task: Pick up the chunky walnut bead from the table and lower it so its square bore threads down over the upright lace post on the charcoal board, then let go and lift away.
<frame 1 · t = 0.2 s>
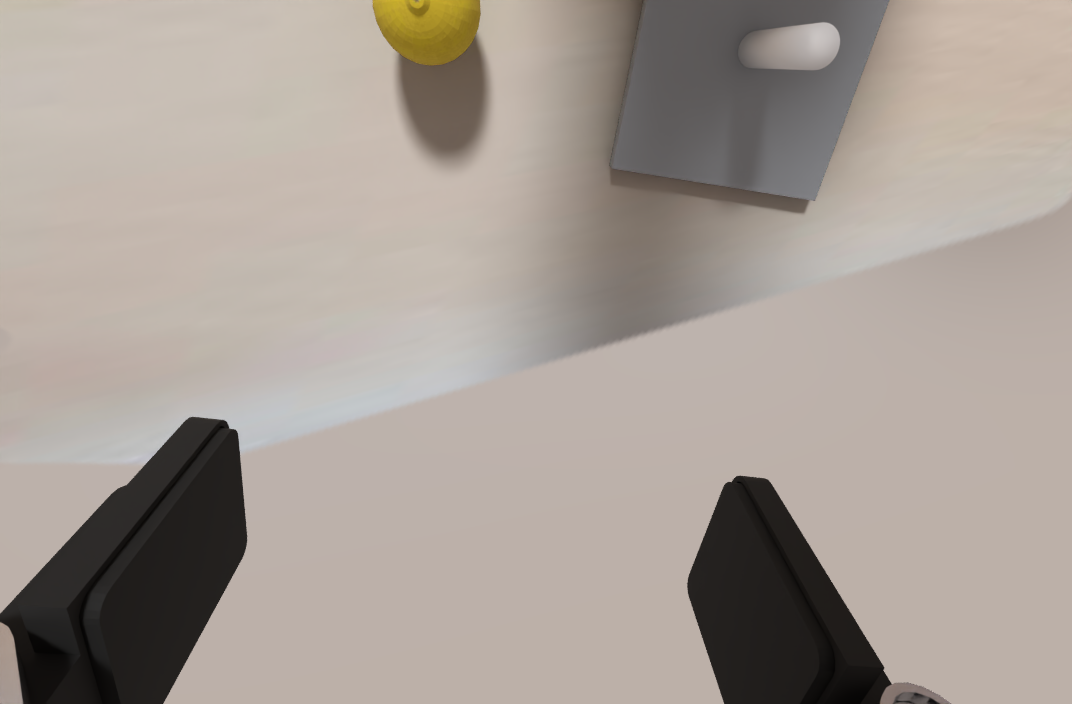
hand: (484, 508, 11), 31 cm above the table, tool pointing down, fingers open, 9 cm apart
lemon: (437, 12, 34), on the table
lace board: (747, 50, 35), on the table
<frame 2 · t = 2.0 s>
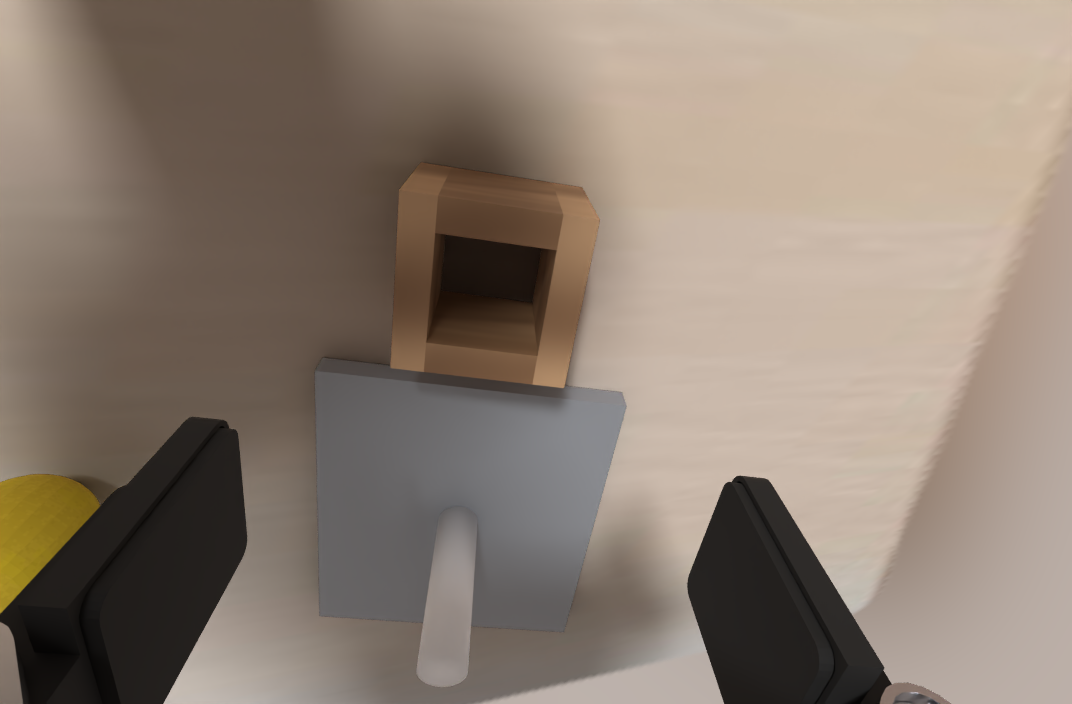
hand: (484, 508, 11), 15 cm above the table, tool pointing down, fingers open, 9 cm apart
lemon: (81, 482, 29), on the table
bead: (492, 252, 24), on the table
lace board: (459, 504, 30), on the table
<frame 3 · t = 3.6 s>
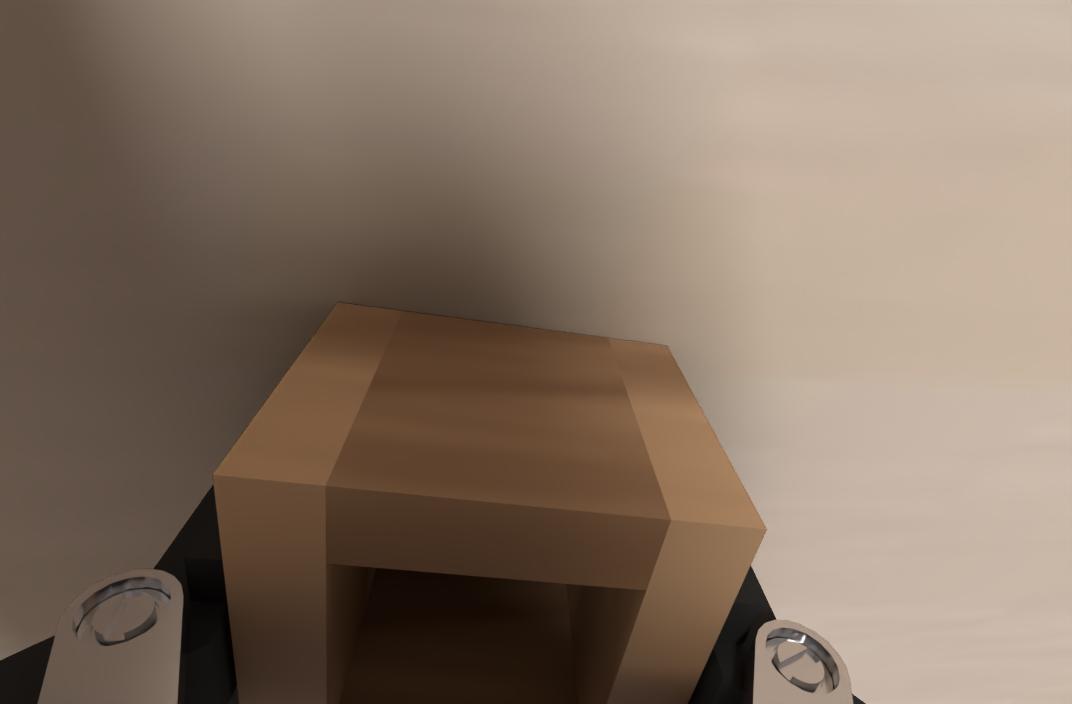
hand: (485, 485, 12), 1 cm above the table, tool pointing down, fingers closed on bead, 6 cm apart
bead: (487, 457, 12), on the table, touching gripper
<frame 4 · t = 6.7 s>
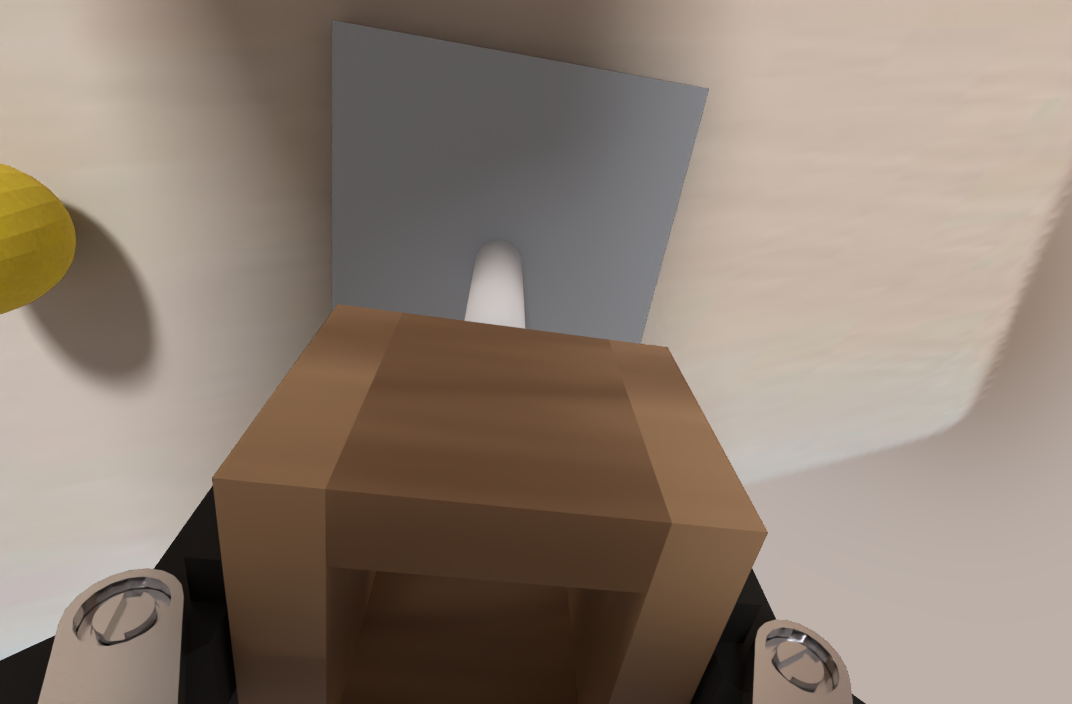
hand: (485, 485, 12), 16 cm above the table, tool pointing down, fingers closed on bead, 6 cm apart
lemon: (51, 211, 24), on the table
bead: (487, 459, 12), point 15 cm above the table, touching gripper
lace board: (499, 254, 26), on the table
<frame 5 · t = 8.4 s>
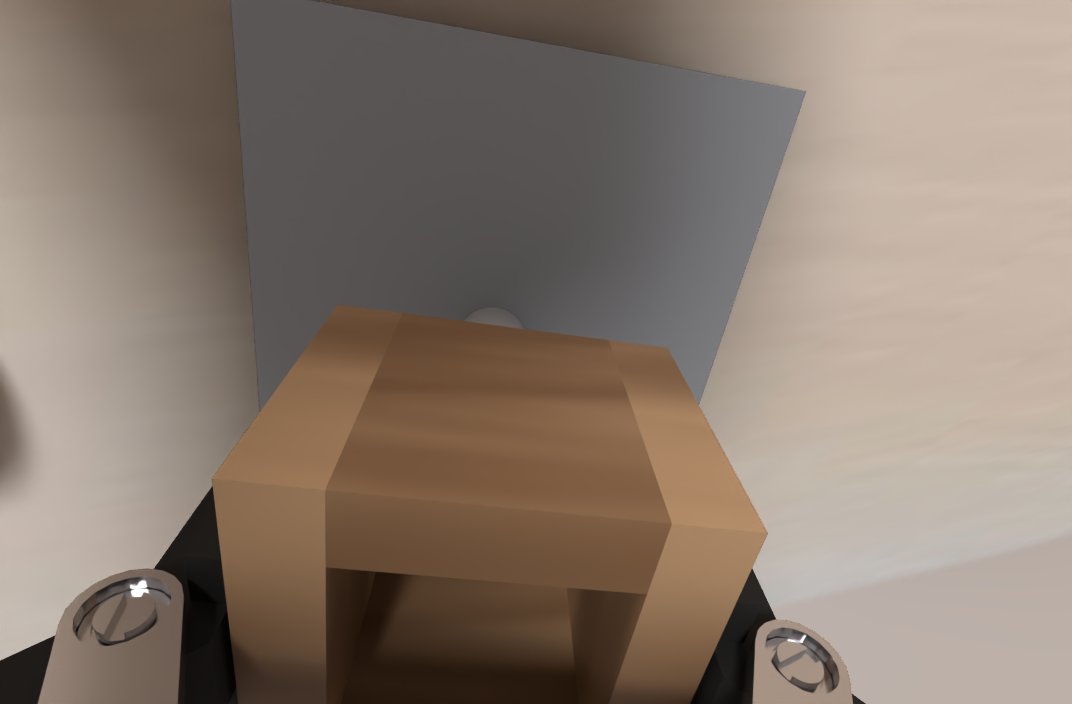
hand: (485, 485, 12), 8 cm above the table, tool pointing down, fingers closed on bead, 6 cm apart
bead: (487, 459, 12), point 7 cm above the table, touching gripper
lace board: (493, 321, 18), on the table
when the fingers open (5 cm above the table, at t = 9.6 s): bead drops 3 cm, resting on lace board.
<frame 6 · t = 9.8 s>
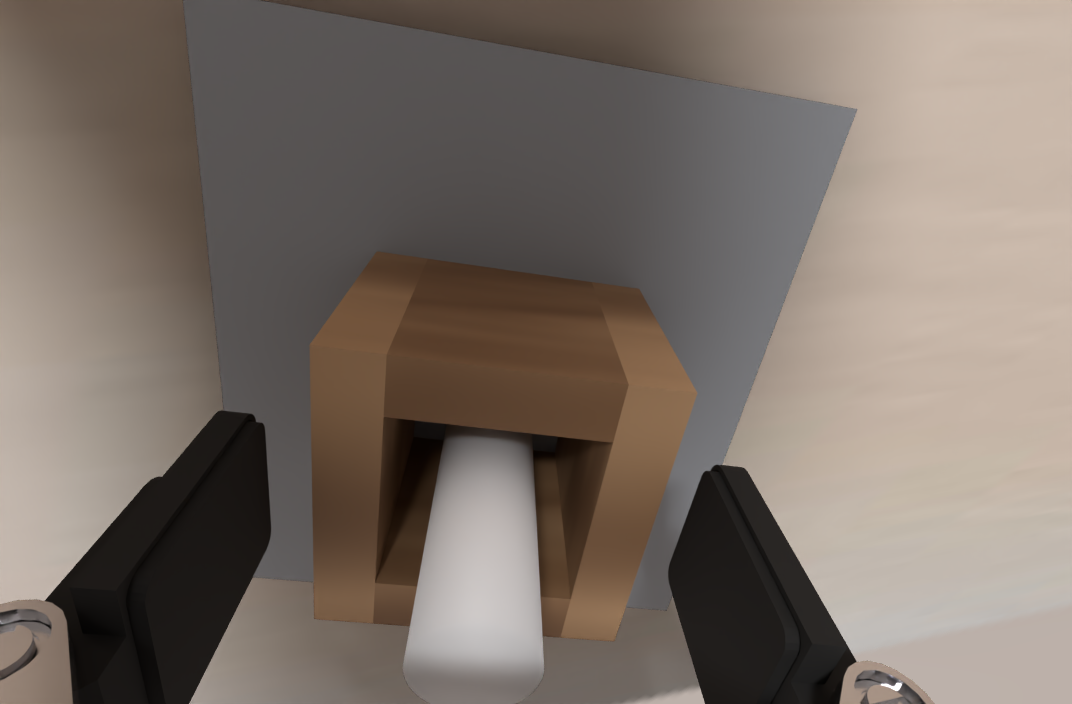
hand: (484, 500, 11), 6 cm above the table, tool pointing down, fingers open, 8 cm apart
bead: (494, 384, 15), point 1 cm above the table, touching lace board
lace board: (493, 364, 16), on the table
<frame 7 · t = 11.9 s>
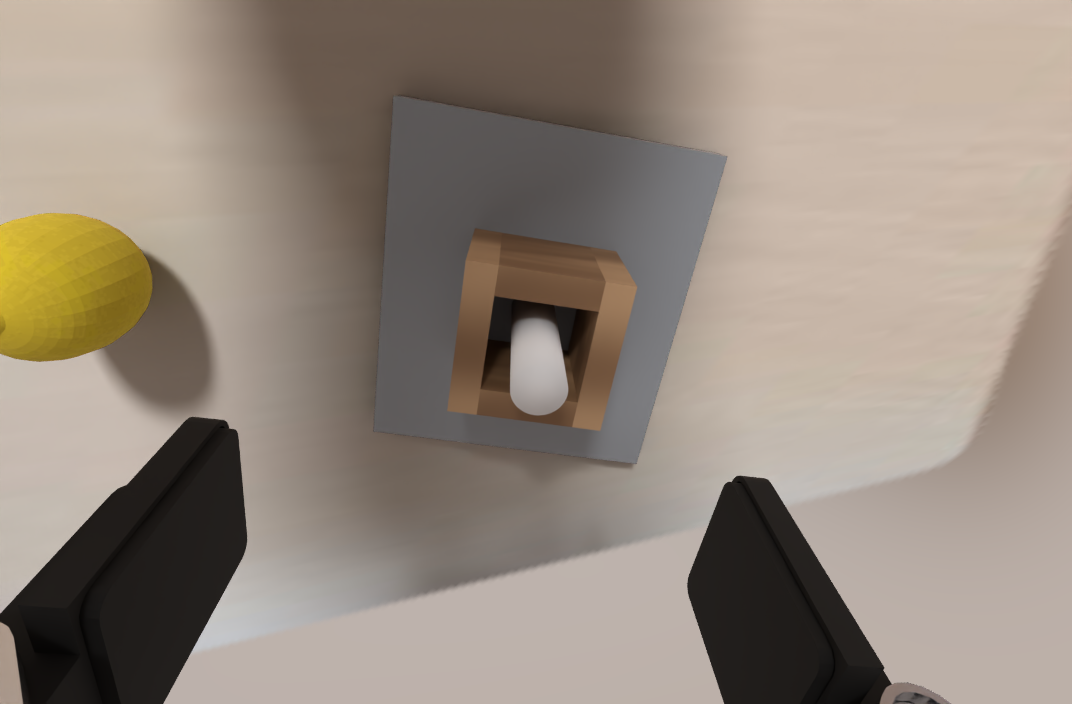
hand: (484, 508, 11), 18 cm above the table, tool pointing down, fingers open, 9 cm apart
lemon: (126, 256, 27), on the table
bead: (534, 306, 27), point 1 cm above the table, touching lace board
lace board: (532, 298, 28), on the table
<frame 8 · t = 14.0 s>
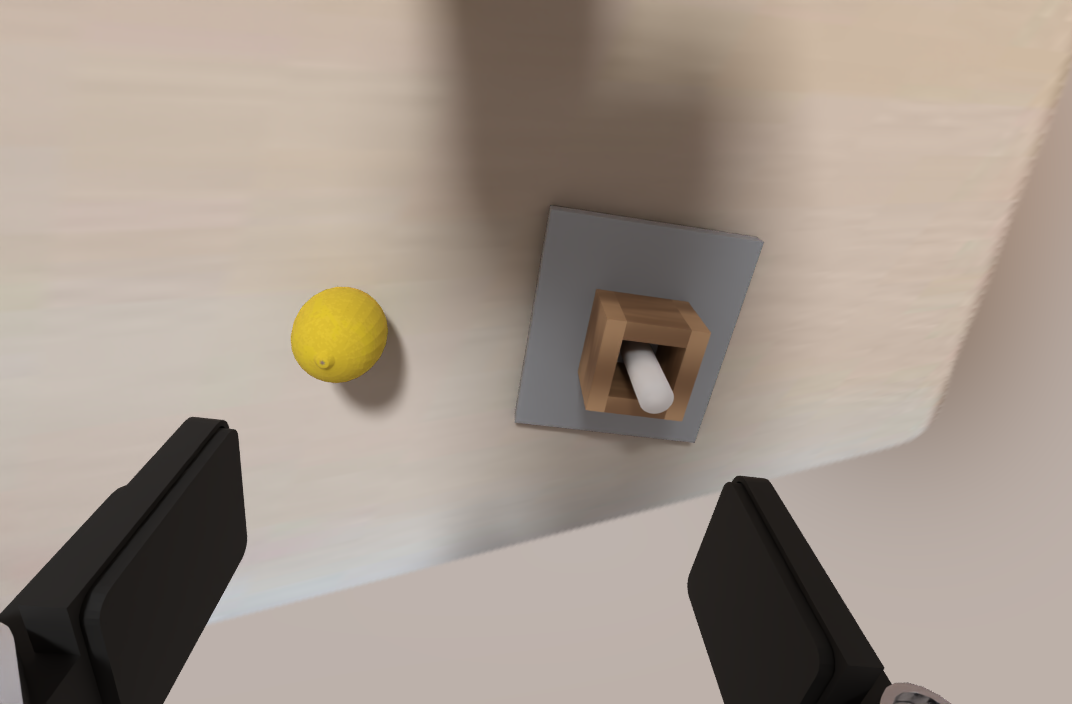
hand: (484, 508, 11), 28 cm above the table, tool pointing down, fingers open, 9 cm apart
lemon: (357, 307, 39), on the table
bead: (631, 337, 40), point 1 cm above the table, touching lace board
lace board: (627, 331, 41), on the table
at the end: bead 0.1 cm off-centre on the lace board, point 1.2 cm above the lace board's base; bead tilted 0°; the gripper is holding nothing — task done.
